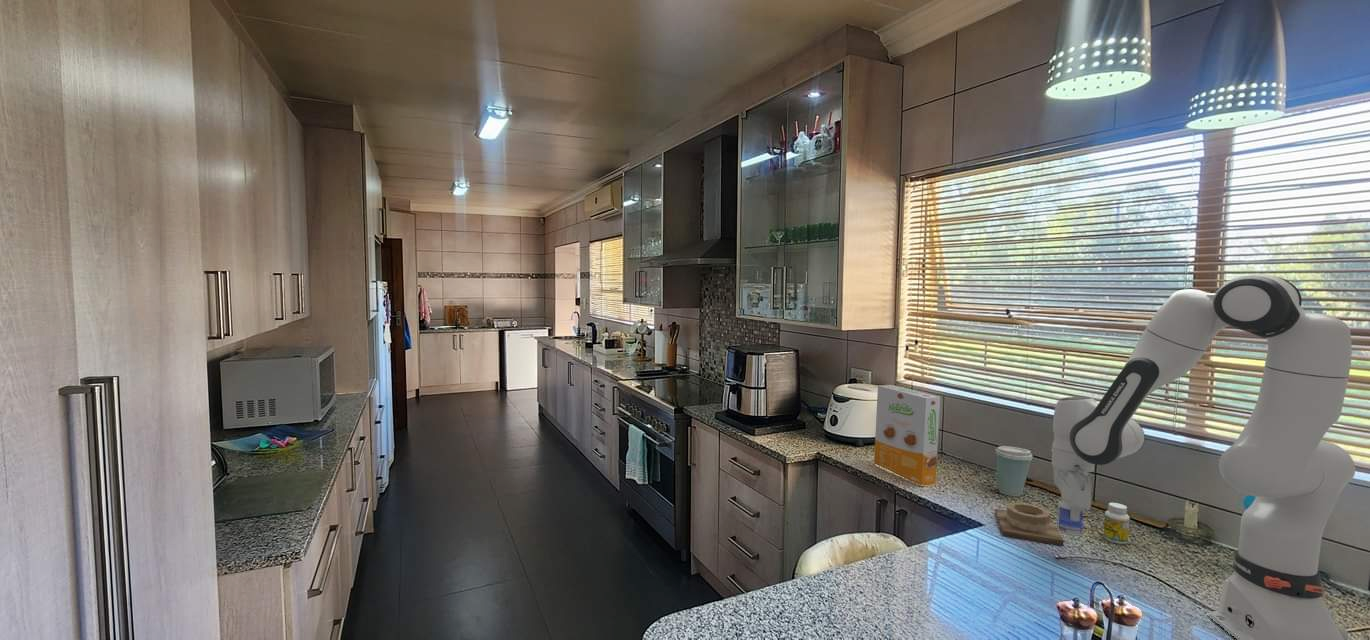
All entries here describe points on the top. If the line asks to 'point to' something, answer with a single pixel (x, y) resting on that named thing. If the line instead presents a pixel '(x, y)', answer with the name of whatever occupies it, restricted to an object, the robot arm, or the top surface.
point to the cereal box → (907, 433)
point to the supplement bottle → (1116, 524)
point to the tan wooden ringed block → (1028, 523)
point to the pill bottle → (1068, 519)
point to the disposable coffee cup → (1012, 469)
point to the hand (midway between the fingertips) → (1070, 515)
